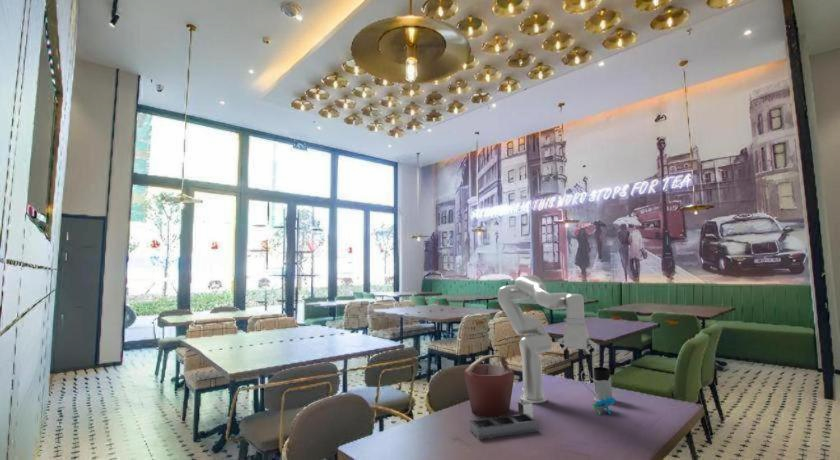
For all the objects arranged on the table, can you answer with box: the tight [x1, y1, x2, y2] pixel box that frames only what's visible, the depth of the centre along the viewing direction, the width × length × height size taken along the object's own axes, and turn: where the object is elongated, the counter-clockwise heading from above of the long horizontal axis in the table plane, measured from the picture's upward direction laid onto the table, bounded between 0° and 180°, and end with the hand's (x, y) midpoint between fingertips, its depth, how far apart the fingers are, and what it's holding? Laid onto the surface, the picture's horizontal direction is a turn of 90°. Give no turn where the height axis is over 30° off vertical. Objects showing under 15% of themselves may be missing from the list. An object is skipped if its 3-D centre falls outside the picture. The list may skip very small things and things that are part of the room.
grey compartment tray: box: [469, 413, 539, 440], centre depth 160 cm, size 26×9×4 cm, turn 105°
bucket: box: [463, 354, 515, 418], centre depth 184 cm, size 24×22×25 cm
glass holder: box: [580, 366, 613, 402], centre depth 196 cm, size 9×14×15 cm, turn 74°
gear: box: [591, 396, 616, 415], centre depth 178 cm, size 11×6×10 cm
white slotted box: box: [517, 400, 534, 418], centre depth 172 cm, size 4×4×7 cm
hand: (577, 360), depth 174 cm, fingers open, 9 cm apart
